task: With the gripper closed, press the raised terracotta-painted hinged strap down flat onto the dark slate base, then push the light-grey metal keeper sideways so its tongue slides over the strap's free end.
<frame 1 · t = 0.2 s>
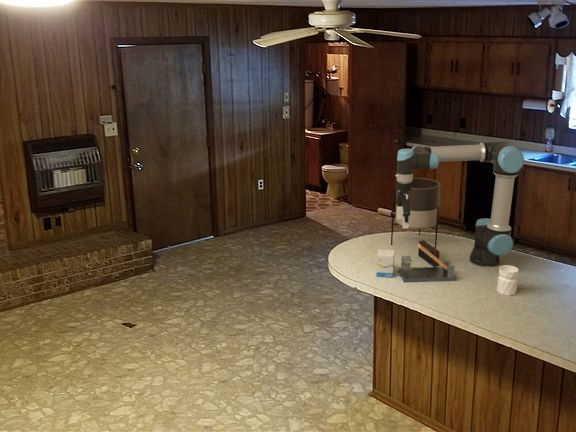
hand: (402, 223, 313), 27 cm above the worktop, fingers open, 13 cm apart
keeper: (406, 264, 320), point 5 cm above the worktop, slide at 0.0 cm, touching base
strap: (434, 258, 314), point 11 cm above the worktop, hinge at 40.0°
base: (426, 276, 320), on the worktop
vase: (506, 292, 301), on the worktop
ink box: (385, 274, 323), on the worktop
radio: (428, 262, 338), on the worktop
planter: (417, 243, 363), on the worktop
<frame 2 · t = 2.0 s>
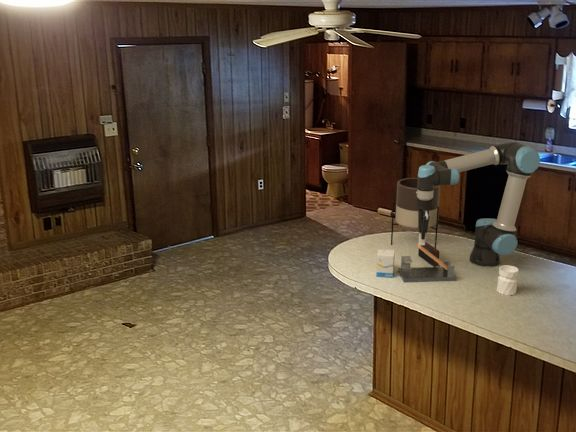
hand: (421, 244, 311), 18 cm above the worktop, fingers closed
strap: (434, 258, 314), point 11 cm above the worktop, hinge at 39.5°, touching gripper
everything else where it was.
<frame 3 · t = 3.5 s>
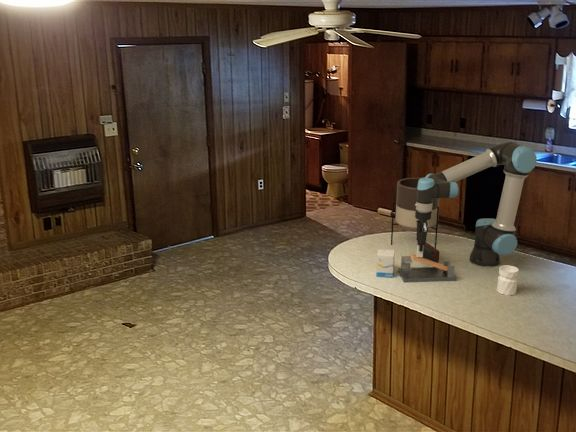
hand: (419, 256, 313), 12 cm above the worktop, fingers closed
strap: (431, 263, 315), point 8 cm above the worktop, hinge at 21.6°, touching gripper
everything else where it was.
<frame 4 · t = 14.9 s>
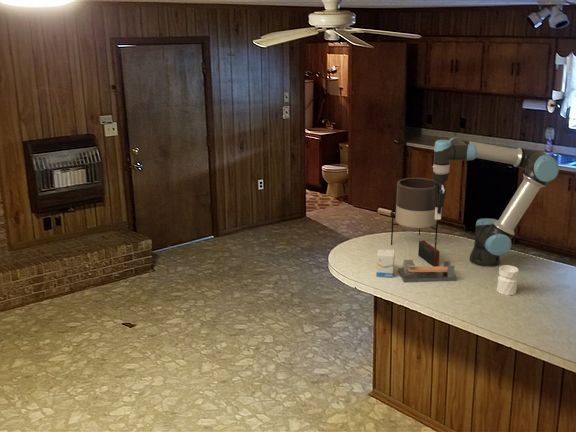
hand: (437, 219, 315), 28 cm above the worktop, fingers closed
keeper: (409, 268, 316), point 5 cm above the worktop, slide at 5.0 cm, touching base
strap: (429, 269, 316), point 5 cm above the worktop, hinge at 2.2°
everything else where it was.
at the end: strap at +2° (first picture: +40°); keeper slide at 5.0 cm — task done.
